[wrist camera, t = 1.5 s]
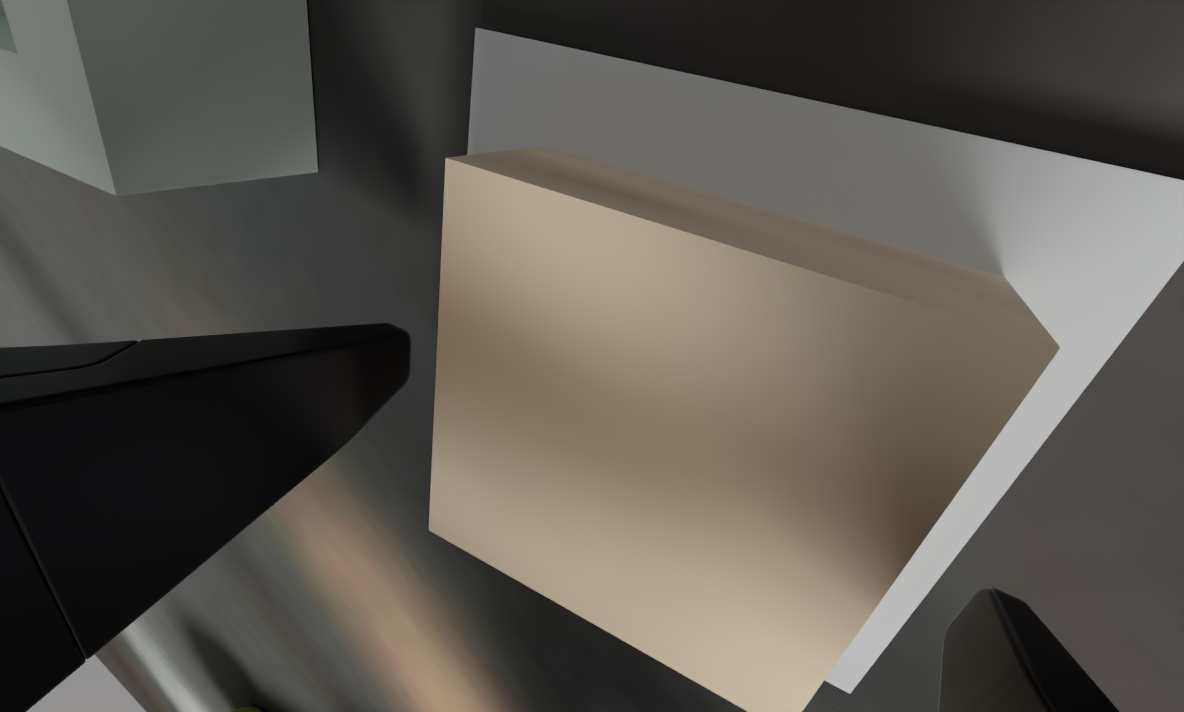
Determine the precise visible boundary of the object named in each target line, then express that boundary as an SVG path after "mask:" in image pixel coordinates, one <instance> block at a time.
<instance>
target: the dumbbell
mask: <svg viewBox="0 0 1184 712" xmlns="http://www.w3.org/2000/svg"><path fill="white" fill-rule="evenodd" d="M231 712H263V711H261V710H260V709H258V708H256V707H253V706H250V707H242V708H239V709H236V710H234V711H231Z"/></svg>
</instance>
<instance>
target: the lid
mask: <svg viewBox="0 0 1184 712" xmlns="http://www.w3.org/2000/svg"><path fill="white" fill-rule="evenodd" d="M1059 349H1060V346H1059V345H1058V344H1057V343H1056V341H1055V340H1054V339H1053V338H1052V336H1051V335H1050V334H1049V332H1048V331H1047V330H1046V329H1045V327H1044V326H1043V325H1042V324H1041V322H1040V321H1039V320H1038V319H1037V317H1036V316H1035V315H1034V313H1033V312H1032V311H1031V310H1030V308H1029V307H1028V306H1027V305H1026V303H1025V302H1024V301H1023V300H1022V298H1021V297H1020V296H1019V294H1018V293H1017V292H1016V291H1015V289H1014V288H1013V287H1012V286H1011V284H1010V283H1009V282H1008V281H1007V279H1006V278H1005V277H1004V276H1000V275H996V274H993V273H989V272H986V271H982V270H979V269H975V268H972V267H968V266H965V265H961V264H958V263H954V262H950V261H947V260H943V259H940V258H936V257H933V256H929V255H926V254H922V253H919V252H915V251H912V250H908V249H904V248H901V247H897V246H894V245H890V244H887V243H883V242H880V241H876V240H873V239H869V238H866V237H862V236H858V235H855V234H851V233H848V232H844V231H841V230H837V229H834V228H830V227H827V226H823V225H819V224H816V223H812V222H809V221H805V220H802V219H798V218H795V217H791V216H788V215H784V214H781V213H777V212H773V211H770V210H766V209H763V208H759V207H756V206H752V205H749V204H745V203H742V202H738V201H735V200H731V199H727V198H724V197H720V196H717V195H713V194H710V193H706V192H703V191H699V190H696V189H692V188H689V187H685V186H681V185H678V184H674V183H671V182H667V181H664V180H660V179H657V178H653V177H650V176H646V175H642V174H639V173H635V172H632V171H628V170H625V169H621V168H618V167H614V166H611V165H607V164H604V163H600V162H596V161H593V160H589V159H586V158H582V157H579V156H575V155H572V154H568V153H565V152H561V151H558V150H554V149H550V148H547V147H543V146H539V147H531V148H523V149H514V150H506V151H498V152H490V153H481V154H473V155H465V156H456V157H448V158H446V161H445V183H444V205H443V227H442V249H441V271H440V293H439V315H438V337H437V359H436V381H435V403H434V425H433V447H432V469H431V491H430V513H429V531H431V532H433V533H434V534H436V535H438V536H440V537H442V538H443V539H445V540H447V541H449V542H450V543H452V544H454V545H456V546H457V547H459V548H461V549H463V550H464V551H466V552H468V553H470V554H471V555H473V556H475V557H477V558H478V559H480V560H482V561H484V562H485V563H487V564H489V565H491V566H493V567H494V568H496V569H498V570H500V571H501V572H503V573H505V574H507V575H508V576H510V577H512V578H514V579H515V580H517V581H519V582H521V583H522V584H524V585H526V586H528V587H529V588H531V589H533V590H535V591H536V592H538V593H540V594H542V595H543V596H545V597H547V598H549V599H551V600H552V601H554V602H556V603H558V604H559V605H561V606H563V607H565V608H566V609H568V610H570V611H572V612H573V613H575V614H577V615H579V616H580V617H582V618H584V619H586V620H587V621H589V622H591V623H593V624H594V625H596V626H598V627H600V628H601V629H603V630H605V631H607V632H609V633H610V634H612V635H614V636H616V637H617V638H619V639H621V640H623V641H624V642H626V643H628V644H630V645H631V646H633V647H635V648H637V649H638V650H640V651H642V652H644V653H645V654H647V655H649V656H651V657H652V658H654V659H656V660H658V661H659V662H661V663H663V664H665V665H667V666H668V667H670V668H672V669H674V670H675V671H677V672H679V673H681V674H682V675H684V676H686V677H688V678H689V679H691V680H693V681H695V682H696V683H698V684H700V685H702V686H703V687H705V688H707V689H709V690H710V691H712V692H714V693H716V694H718V695H719V696H721V697H723V698H725V699H726V700H728V701H730V702H732V703H733V704H735V705H737V706H739V707H740V708H742V709H744V710H746V711H747V712H802V711H803V710H804V708H805V707H806V705H807V704H808V703H809V701H810V700H811V698H812V697H813V696H814V694H815V693H816V691H817V690H818V689H819V687H820V686H821V684H822V683H823V681H824V680H825V679H826V677H827V676H828V674H829V673H830V672H831V670H832V669H833V667H834V666H835V665H836V663H837V662H838V660H839V659H840V658H841V656H842V655H843V653H844V652H845V651H846V649H847V648H848V646H849V645H850V643H851V642H852V641H853V639H854V638H855V636H856V635H857V634H858V632H859V631H860V629H861V628H862V627H863V625H864V624H865V622H866V621H867V620H868V618H869V617H870V615H871V614H872V613H873V611H874V610H875V608H876V607H877V605H878V604H879V603H880V601H881V600H882V598H883V597H884V596H885V594H886V593H887V591H888V590H889V589H890V587H891V586H892V584H893V583H894V582H895V580H896V579H897V577H898V576H899V575H900V573H901V572H902V570H903V569H904V567H905V566H906V565H907V563H908V562H909V560H910V559H911V558H912V556H913V555H914V553H915V552H916V551H917V549H918V548H919V546H920V545H921V544H922V542H923V541H924V539H925V538H926V536H927V535H928V534H929V532H930V531H931V529H932V528H933V527H934V525H935V524H936V522H937V521H938V520H939V518H940V517H941V515H942V514H943V513H944V511H945V510H946V508H947V507H948V506H949V504H950V503H951V501H952V500H953V498H954V497H955V496H956V494H957V493H958V491H959V490H960V489H961V487H962V486H963V484H964V483H965V482H966V480H967V479H968V477H969V476H970V475H971V473H972V472H973V470H974V469H975V468H976V466H977V465H978V463H979V462H980V460H981V459H982V458H983V456H984V455H985V453H986V452H987V451H988V449H989V448H990V446H991V445H992V444H993V442H994V441H995V439H996V438H997V437H998V435H999V434H1000V432H1001V431H1002V430H1003V428H1004V427H1005V425H1006V424H1007V422H1008V421H1009V420H1010V418H1011V417H1012V415H1013V414H1014V413H1015V411H1016V410H1017V408H1018V407H1019V406H1020V404H1021V403H1022V401H1023V400H1024V399H1025V397H1026V396H1027V394H1028V393H1029V391H1030V390H1031V389H1032V387H1033V386H1034V384H1035V383H1036V382H1037V380H1038V379H1039V377H1040V376H1041V375H1042V373H1043V372H1044V370H1045V369H1046V368H1047V366H1048V365H1049V363H1050V362H1051V361H1052V359H1053V358H1054V356H1055V355H1056V353H1057V352H1058V351H1059Z"/></svg>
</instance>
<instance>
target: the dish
mask: <svg viewBox="0 0 1184 712" xmlns="http://www.w3.org/2000/svg"><path fill="white" fill-rule="evenodd" d="M0 146H1V147H4V148H6V149H8V150H11V151H13V152H15V153H18V154H20V155H22V156H25V157H27V158H29V159H32V160H34V161H36V162H39V163H41V164H43V165H45V166H48V167H50V168H52V169H55V170H57V171H59V172H62V173H64V174H66V175H69V176H71V177H73V178H76V179H78V180H80V181H83V182H85V183H87V184H89V185H92V186H94V187H96V188H99V189H101V190H103V191H106V192H108V193H110V194H113V195H115V196H122V195H131V194H139V193H148V192H156V191H165V190H173V189H181V188H190V187H198V186H207V185H215V184H223V183H232V182H240V181H249V180H257V179H265V178H274V177H282V176H291V175H299V174H307V173H316V172H318V161H317V147H316V132H315V117H314V103H313V88H312V73H311V59H310V44H309V29H308V15H307V0H0Z"/></svg>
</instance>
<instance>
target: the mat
mask: <svg viewBox="0 0 1184 712" xmlns="http://www.w3.org/2000/svg"><path fill="white" fill-rule="evenodd" d="M539 146H543V147H547V148H550V149H554V150H558V151H561V152H565V153H568V154H572V155H575V156H579V157H582V158H586V159H589V160H593V161H596V162H600V163H604V164H607V165H611V166H614V167H618V168H621V169H625V170H628V171H632V172H635V173H639V174H642V175H646V176H650V177H653V178H657V179H660V180H664V181H667V182H671V183H674V184H678V185H681V186H685V187H689V188H692V189H696V190H699V191H703V192H706V193H710V194H713V195H717V196H720V197H724V198H727V199H731V200H735V201H738V202H742V203H745V204H749V205H752V206H756V207H759V208H763V209H766V210H770V211H773V212H777V213H781V214H784V215H788V216H791V217H795V218H798V219H802V220H805V221H809V222H812V223H816V224H819V225H823V226H827V227H830V228H834V229H837V230H841V231H844V232H848V233H851V234H855V235H858V236H862V237H866V238H869V239H873V240H876V241H880V242H883V243H887V244H890V245H894V246H897V247H901V248H904V249H908V250H912V251H915V252H919V253H922V254H926V255H929V256H933V257H936V258H940V259H943V260H947V261H950V262H954V263H958V264H961V265H965V266H968V267H972V268H975V269H979V270H982V271H986V272H989V273H993V274H996V275H1000V276H1004V277H1005V278H1006V279H1007V281H1008V282H1009V283H1010V284H1011V286H1012V287H1013V288H1014V289H1015V291H1016V292H1017V293H1018V294H1019V296H1020V297H1021V298H1022V300H1023V301H1024V302H1025V303H1026V305H1027V306H1028V307H1029V308H1030V310H1031V311H1032V312H1033V313H1034V315H1035V316H1036V317H1037V319H1038V320H1039V321H1040V322H1041V324H1042V325H1043V326H1044V327H1045V329H1046V330H1047V331H1048V332H1049V334H1050V335H1051V336H1052V338H1053V339H1054V340H1055V341H1056V343H1057V344H1058V345H1059V346H1060V349H1059V351H1058V352H1057V353H1056V355H1055V356H1054V358H1053V359H1052V361H1051V362H1050V363H1049V365H1048V366H1047V368H1046V369H1045V370H1044V372H1043V373H1042V375H1041V376H1040V377H1039V379H1038V380H1037V382H1036V383H1035V384H1034V386H1033V387H1032V389H1031V390H1030V391H1029V393H1028V394H1027V396H1026V397H1025V399H1024V400H1023V401H1022V403H1021V404H1020V406H1019V407H1018V408H1017V410H1016V411H1015V413H1014V414H1013V415H1012V417H1011V418H1010V420H1009V421H1008V422H1007V424H1006V425H1005V427H1004V428H1003V430H1002V431H1001V432H1000V434H999V435H998V437H997V438H996V439H995V441H994V442H993V444H992V445H991V446H990V448H989V449H988V451H987V452H986V453H985V455H984V456H983V458H982V459H981V460H980V462H979V463H978V465H977V466H976V468H975V469H974V470H973V472H972V473H971V475H970V476H969V477H968V479H967V480H966V482H965V483H964V484H963V486H962V487H961V489H960V490H959V491H958V493H957V494H956V496H955V497H954V498H953V500H952V501H951V503H950V504H949V506H948V507H947V508H946V510H945V511H944V513H943V514H942V515H941V517H940V518H939V520H938V521H937V522H936V524H935V525H934V527H933V528H932V529H931V531H930V532H929V534H928V535H927V536H926V538H925V539H924V541H923V542H922V544H921V545H920V546H919V548H918V549H917V551H916V552H915V553H914V555H913V556H912V558H911V559H910V560H909V562H908V563H907V565H906V566H905V567H904V569H903V570H902V572H901V573H900V575H899V576H898V577H897V579H896V580H895V582H894V583H893V584H892V586H891V587H890V589H889V590H888V591H887V593H886V594H885V596H884V597H883V598H882V600H881V601H880V603H879V604H878V605H877V607H876V608H875V610H874V611H873V613H872V614H871V615H870V617H869V618H868V620H867V621H866V622H865V624H864V625H863V627H862V628H861V629H860V631H859V632H858V634H857V635H856V636H855V638H854V639H853V641H852V642H851V643H850V645H849V646H848V648H847V649H846V651H845V652H844V653H843V655H842V656H841V658H840V659H839V660H838V662H837V663H836V665H835V666H834V667H833V669H832V670H831V672H830V673H829V674H828V676H827V677H826V679H825V681H827V682H828V683H830V684H832V685H834V686H836V687H838V688H840V689H842V690H844V691H845V692H847V693H849V694H850V693H851V692H852V691H853V689H854V688H855V687H856V686H857V684H858V683H859V682H860V680H861V679H862V678H863V677H864V675H865V674H866V673H867V671H868V670H869V669H870V667H871V666H872V665H873V664H874V662H875V661H876V660H877V658H878V657H879V656H880V654H881V653H882V652H883V651H884V649H885V648H886V647H887V645H888V644H889V643H890V641H891V640H892V639H893V638H894V636H895V635H896V634H897V632H898V631H899V630H900V628H901V627H902V626H903V625H904V623H905V622H906V621H907V619H908V618H909V617H910V615H911V614H912V613H913V612H914V610H915V609H916V608H917V606H918V605H919V604H920V602H921V601H922V600H923V599H924V597H925V596H926V595H927V593H928V592H929V591H930V590H931V588H932V587H933V586H934V584H935V583H936V582H937V580H938V579H939V578H940V577H941V575H942V574H943V573H944V571H945V570H946V569H947V567H948V566H949V565H950V564H951V562H952V561H953V560H954V558H955V557H956V556H957V554H958V553H959V552H960V551H961V549H962V548H963V547H964V545H965V544H966V543H967V541H968V540H969V539H970V538H971V536H972V535H973V534H974V532H975V531H976V530H977V528H978V527H979V526H980V525H981V523H982V522H983V521H984V519H985V518H986V517H987V515H988V514H989V513H990V512H991V510H992V509H993V508H994V506H995V505H996V504H997V503H998V501H999V500H1000V499H1001V497H1002V496H1003V495H1004V493H1005V492H1006V491H1007V490H1008V488H1009V487H1010V486H1011V484H1012V483H1013V482H1014V480H1015V479H1016V478H1017V477H1018V475H1019V474H1020V473H1021V471H1022V470H1023V469H1024V467H1025V466H1026V465H1027V464H1028V462H1029V461H1030V460H1031V458H1032V457H1033V456H1034V454H1035V453H1036V452H1037V451H1038V449H1039V448H1040V447H1041V445H1042V444H1043V443H1044V441H1045V440H1046V439H1047V438H1048V436H1049V435H1050V434H1051V432H1052V431H1053V430H1054V429H1055V427H1056V426H1057V425H1058V423H1059V422H1060V421H1061V419H1062V418H1063V417H1064V416H1065V414H1066V413H1067V412H1068V410H1069V409H1070V408H1071V406H1072V405H1073V404H1074V403H1075V401H1076V400H1077V399H1078V397H1079V396H1080V395H1081V393H1082V392H1083V391H1084V390H1085V388H1086V387H1087V386H1088V384H1089V383H1090V382H1091V380H1092V379H1093V378H1094V377H1095V375H1096V374H1097V373H1098V371H1099V370H1100V369H1101V367H1102V366H1103V365H1104V364H1105V362H1106V361H1107V360H1108V358H1109V357H1110V356H1111V354H1112V353H1113V352H1114V351H1115V349H1116V348H1117V347H1118V345H1119V344H1120V343H1121V342H1122V340H1123V339H1124V338H1125V336H1126V335H1127V334H1128V332H1129V331H1130V330H1131V329H1132V327H1133V326H1134V325H1135V323H1136V322H1137V321H1138V319H1139V318H1140V317H1141V316H1142V314H1143V313H1144V312H1145V310H1146V309H1147V308H1148V306H1149V305H1150V304H1151V303H1152V301H1153V300H1154V299H1155V297H1156V296H1157V295H1158V293H1159V292H1160V291H1161V290H1162V288H1163V287H1164V286H1165V284H1166V283H1167V282H1168V280H1169V279H1170V278H1171V277H1172V275H1173V274H1174V273H1175V271H1176V270H1177V269H1178V267H1179V266H1180V265H1181V264H1182V262H1183V261H1184V180H1181V179H1176V178H1172V177H1167V176H1162V175H1158V174H1153V173H1148V172H1144V171H1139V170H1134V169H1130V168H1125V167H1121V166H1116V165H1111V164H1107V163H1102V162H1097V161H1093V160H1088V159H1083V158H1079V157H1074V156H1070V155H1065V154H1060V153H1056V152H1051V151H1046V150H1042V149H1037V148H1033V147H1028V146H1023V145H1019V144H1014V143H1009V142H1005V141H1000V140H995V139H991V138H986V137H982V136H977V135H972V134H968V133H963V132H958V131H954V130H949V129H944V128H940V127H935V126H931V125H926V124H921V123H917V122H912V121H907V120H903V119H898V118H893V117H889V116H884V115H880V114H875V113H870V112H866V111H861V110H856V109H852V108H847V107H843V106H838V105H833V104H829V103H824V102H819V101H815V100H810V99H805V98H801V97H796V96H792V95H787V94H782V93H778V92H773V91H768V90H764V89H759V88H754V87H750V86H745V85H741V84H736V83H731V82H727V81H722V80H717V79H713V78H708V77H703V76H699V75H694V74H690V73H685V72H680V71H676V70H671V69H666V68H662V67H657V66H653V65H648V64H643V63H639V62H634V61H629V60H625V59H620V58H615V57H611V56H606V55H602V54H597V53H592V52H588V51H583V50H578V49H574V48H569V47H564V46H560V45H555V44H551V43H546V42H541V41H537V40H532V39H527V38H523V37H518V36H513V35H509V34H504V33H500V32H495V31H490V30H485V29H480V28H475V43H474V59H473V74H472V90H471V105H470V121H469V136H468V152H467V155H473V154H481V153H490V152H498V151H506V150H514V149H523V148H531V147H539Z"/></svg>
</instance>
